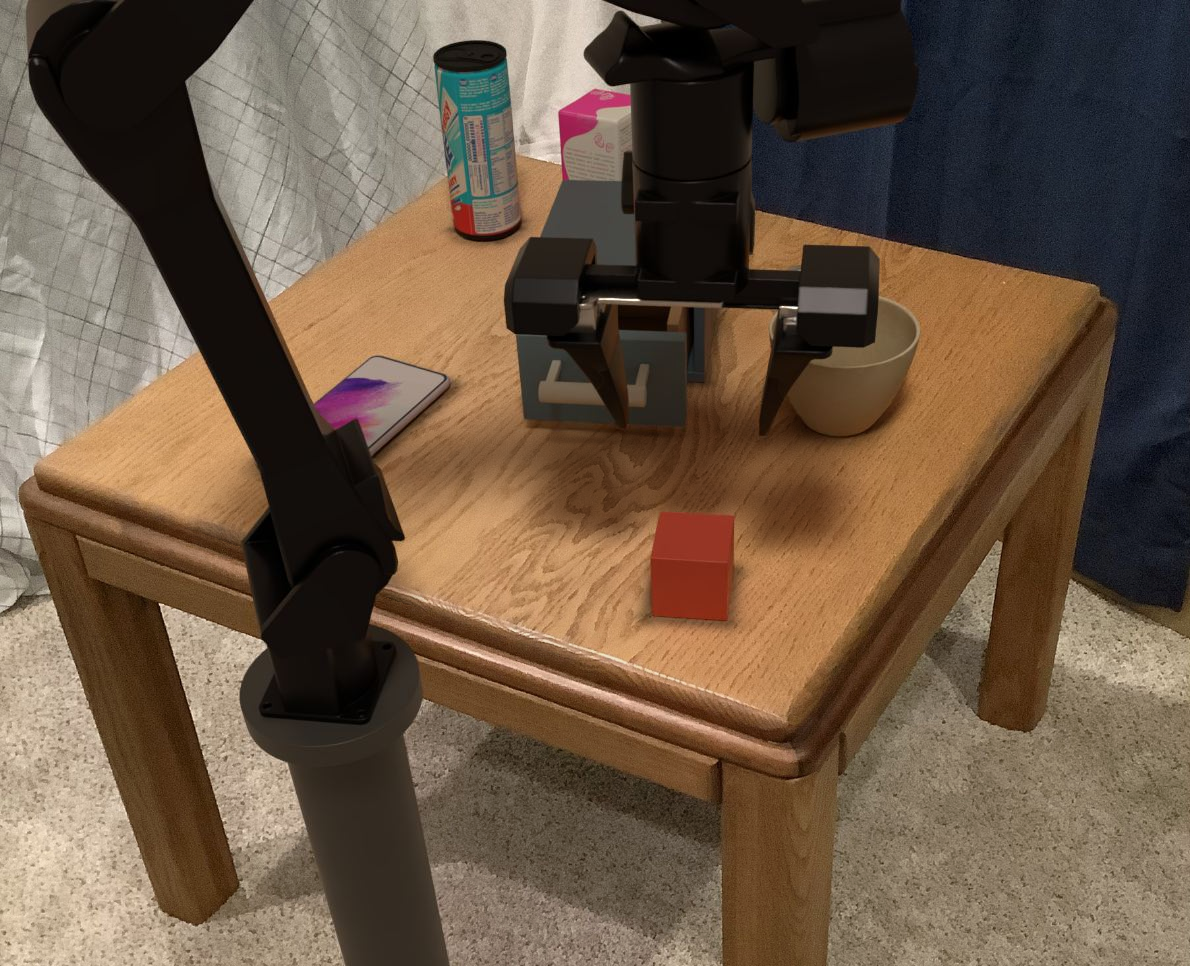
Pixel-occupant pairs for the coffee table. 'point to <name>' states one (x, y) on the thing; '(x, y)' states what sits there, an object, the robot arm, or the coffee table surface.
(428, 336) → the coffee table surface
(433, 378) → the smartphone
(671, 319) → the drawer
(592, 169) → the supplement box
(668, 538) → the block
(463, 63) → the teal canister
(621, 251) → the cabinet
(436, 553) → the coffee table surface
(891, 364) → the bowl
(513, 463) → the coffee table surface
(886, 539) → the coffee table surface
